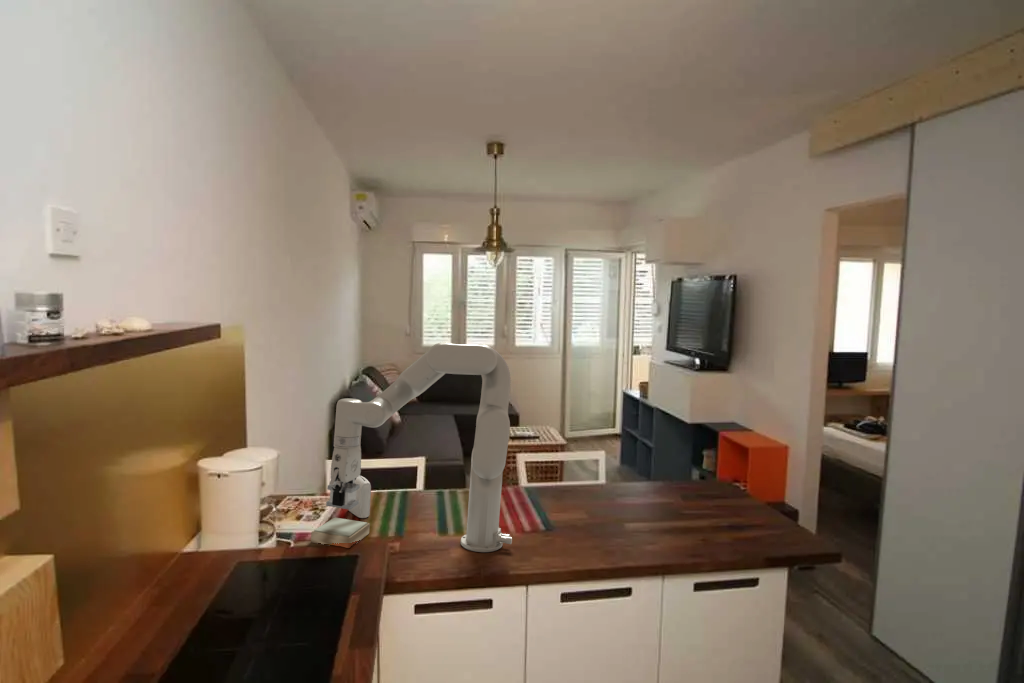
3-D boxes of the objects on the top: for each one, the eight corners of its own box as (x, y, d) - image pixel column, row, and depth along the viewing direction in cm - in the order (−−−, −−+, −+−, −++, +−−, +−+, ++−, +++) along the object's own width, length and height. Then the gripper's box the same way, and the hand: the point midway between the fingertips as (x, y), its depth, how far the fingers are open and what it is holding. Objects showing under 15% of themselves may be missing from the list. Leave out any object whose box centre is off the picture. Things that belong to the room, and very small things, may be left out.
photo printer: (346, 509, 179) (348, 473, 179) (358, 507, 182) (360, 472, 181) (358, 519, 171) (361, 481, 171) (371, 517, 174) (373, 480, 173)
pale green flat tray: (369, 533, 160) (369, 522, 160) (349, 548, 149) (350, 536, 149) (333, 527, 163) (334, 516, 163) (310, 542, 151) (311, 530, 151)
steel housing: (358, 504, 157) (359, 484, 157) (349, 509, 152) (351, 489, 152) (335, 500, 159) (336, 480, 159) (326, 505, 154) (327, 485, 154)
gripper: (344, 448, 146) (339, 513, 146) (372, 437, 163) (368, 495, 163) (319, 445, 148) (314, 509, 148) (350, 434, 164) (345, 492, 165)
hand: (342, 501), depth 156 cm, fingers closed on steel housing, 5 cm apart
